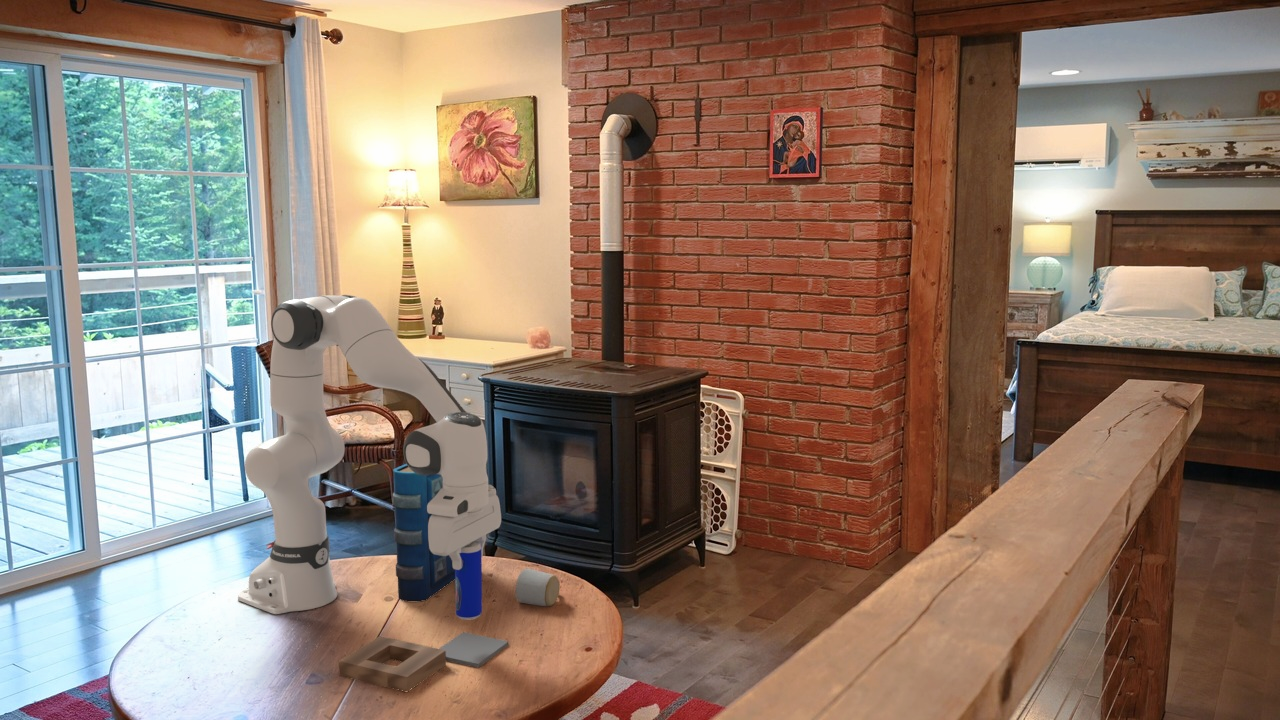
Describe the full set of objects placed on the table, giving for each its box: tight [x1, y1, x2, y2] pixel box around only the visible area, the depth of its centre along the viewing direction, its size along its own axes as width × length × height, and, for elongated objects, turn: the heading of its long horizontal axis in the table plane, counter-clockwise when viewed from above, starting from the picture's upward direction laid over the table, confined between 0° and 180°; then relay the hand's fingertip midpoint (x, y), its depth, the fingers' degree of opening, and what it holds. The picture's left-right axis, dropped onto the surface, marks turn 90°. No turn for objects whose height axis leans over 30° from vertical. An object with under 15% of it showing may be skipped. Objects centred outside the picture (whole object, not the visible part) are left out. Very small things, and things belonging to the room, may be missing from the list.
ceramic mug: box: [514, 568, 561, 607], centre depth 218 cm, size 11×8×8 cm
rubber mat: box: [438, 631, 510, 669], centre depth 193 cm, size 11×11×1 cm
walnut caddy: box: [338, 635, 447, 692], centre depth 184 cm, size 16×12×3 cm
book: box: [392, 463, 455, 602], centre depth 226 cm, size 24×9×30 cm, turn 161°
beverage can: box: [454, 540, 483, 621], centre depth 191 cm, size 5×5×15 cm
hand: (468, 562), depth 190 cm, fingers closed on beverage can, 5 cm apart
